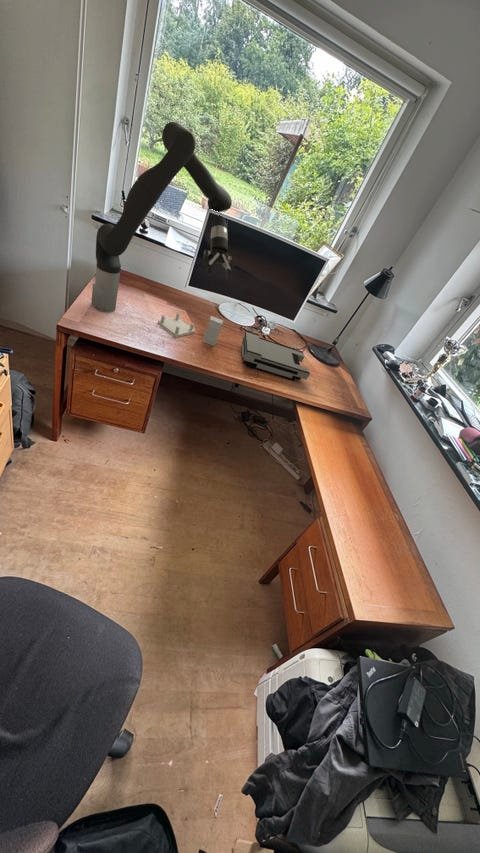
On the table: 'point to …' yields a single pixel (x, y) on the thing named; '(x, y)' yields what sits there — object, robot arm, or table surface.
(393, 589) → the table surface
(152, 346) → the table surface
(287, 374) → the grey slotted box
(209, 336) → the skincare box
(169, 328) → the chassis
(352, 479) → the table surface
